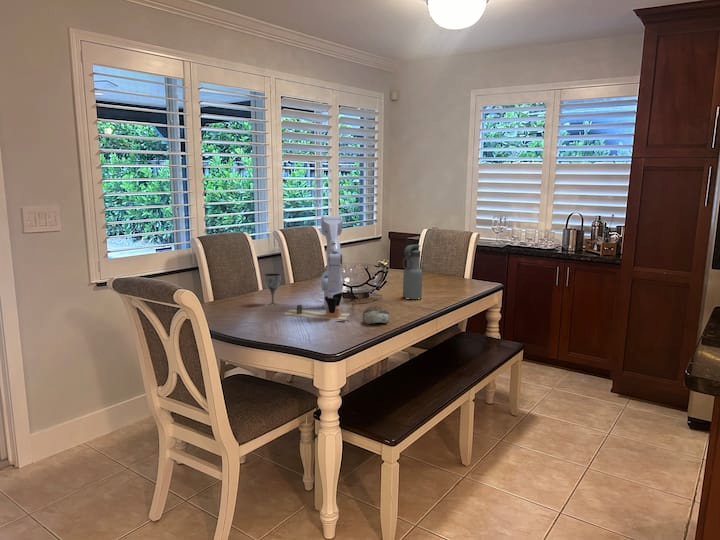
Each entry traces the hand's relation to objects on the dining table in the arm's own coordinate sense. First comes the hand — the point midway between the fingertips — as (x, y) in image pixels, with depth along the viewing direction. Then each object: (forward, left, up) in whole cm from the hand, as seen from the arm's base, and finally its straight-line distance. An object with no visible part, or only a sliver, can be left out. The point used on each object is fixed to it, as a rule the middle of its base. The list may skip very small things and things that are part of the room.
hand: (334, 310), depth 238 cm
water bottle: (-51, +29, -4) cm, 59 cm away
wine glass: (-17, -35, -4) cm, 39 cm away
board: (0, -8, -3) cm, 9 cm away
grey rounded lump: (+2, +20, -4) cm, 20 cm away
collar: (0, 0, -2) cm, 2 cm away
